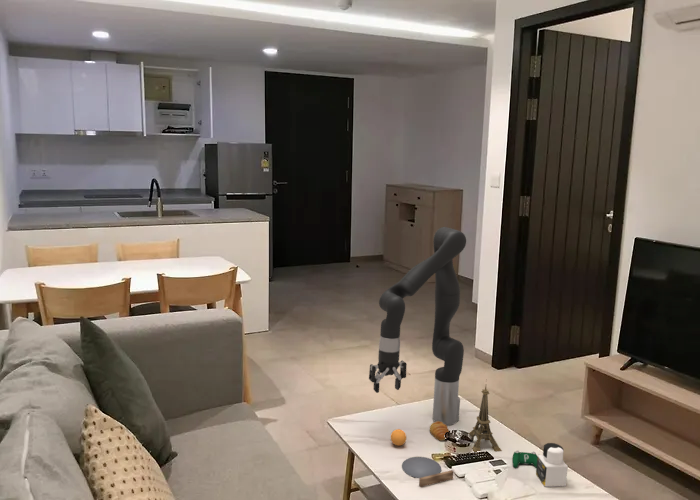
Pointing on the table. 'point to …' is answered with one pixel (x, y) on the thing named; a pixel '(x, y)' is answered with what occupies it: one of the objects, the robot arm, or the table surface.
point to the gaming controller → (524, 458)
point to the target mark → (420, 467)
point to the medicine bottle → (552, 466)
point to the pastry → (438, 430)
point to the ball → (398, 437)
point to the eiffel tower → (483, 421)
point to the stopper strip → (435, 478)
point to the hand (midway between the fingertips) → (386, 390)
